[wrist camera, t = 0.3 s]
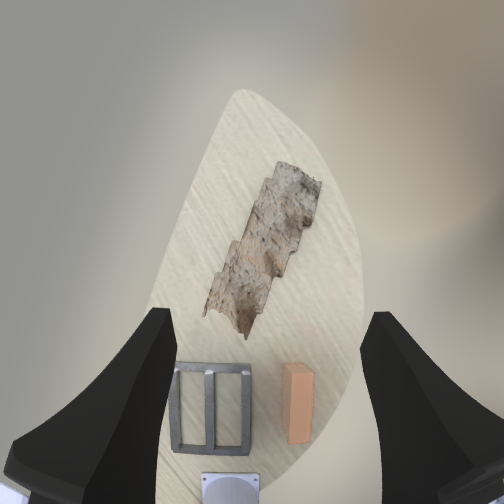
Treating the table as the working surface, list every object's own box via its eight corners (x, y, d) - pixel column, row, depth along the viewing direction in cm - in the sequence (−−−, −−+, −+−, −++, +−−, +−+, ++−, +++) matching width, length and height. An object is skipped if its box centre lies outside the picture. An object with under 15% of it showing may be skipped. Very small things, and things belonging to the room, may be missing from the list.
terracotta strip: (299, 425, 37) (309, 443, 31) (281, 426, 37) (288, 444, 31) (302, 362, 39) (314, 372, 33) (283, 363, 39) (291, 373, 33)
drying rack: (248, 452, 36) (249, 459, 34) (174, 449, 36) (171, 456, 34) (249, 363, 38) (250, 367, 36) (170, 360, 38) (167, 364, 36)
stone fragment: (321, 177, 44) (254, 155, 44) (327, 169, 41) (256, 146, 41) (271, 355, 39) (196, 332, 39) (274, 359, 36) (194, 335, 36)
